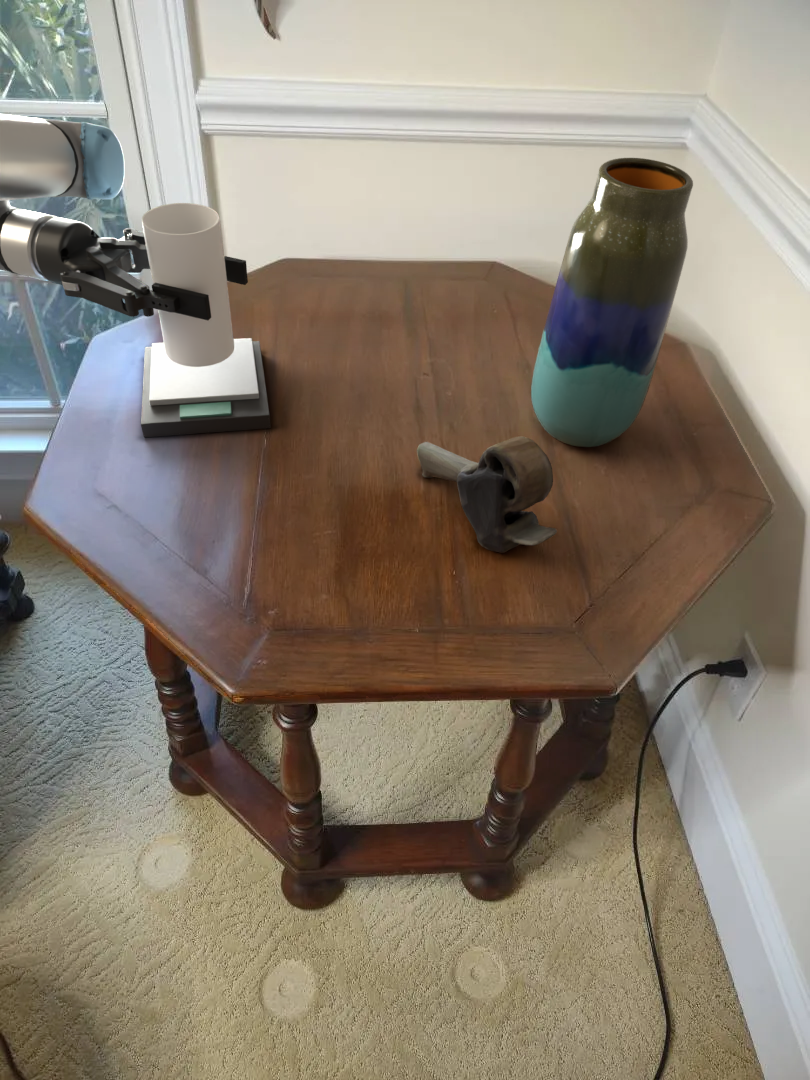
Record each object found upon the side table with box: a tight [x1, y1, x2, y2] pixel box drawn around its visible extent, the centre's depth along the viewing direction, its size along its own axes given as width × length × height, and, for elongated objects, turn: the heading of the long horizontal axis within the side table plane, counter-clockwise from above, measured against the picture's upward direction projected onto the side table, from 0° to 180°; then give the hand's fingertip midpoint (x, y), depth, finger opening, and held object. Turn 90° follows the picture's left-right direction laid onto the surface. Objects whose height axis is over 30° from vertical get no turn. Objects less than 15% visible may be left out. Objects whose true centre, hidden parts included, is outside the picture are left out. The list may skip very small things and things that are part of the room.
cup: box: [141, 202, 234, 367], centre depth 88 cm, size 8×8×16 cm
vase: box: [530, 157, 694, 448], centre depth 87 cm, size 14×14×31 cm
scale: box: [140, 337, 272, 438], centre depth 98 cm, size 15×17×3 cm
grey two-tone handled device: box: [416, 435, 558, 554], centre depth 82 cm, size 21×6×12 cm, turn 35°
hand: (227, 289), depth 87 cm, fingers closed on cup, 8 cm apart
